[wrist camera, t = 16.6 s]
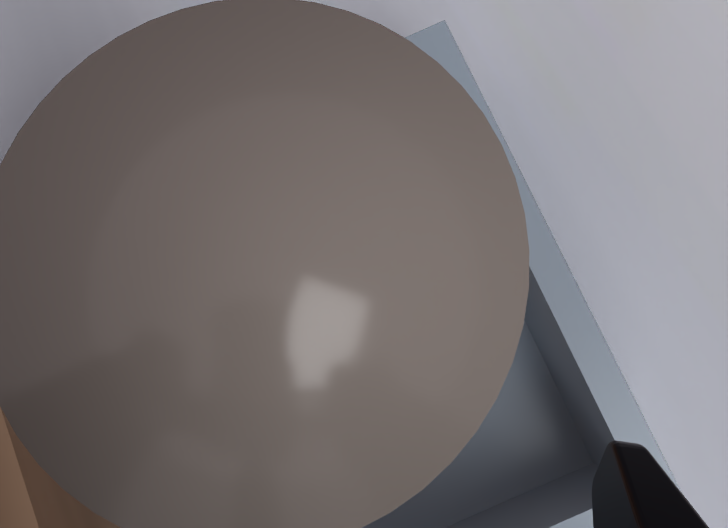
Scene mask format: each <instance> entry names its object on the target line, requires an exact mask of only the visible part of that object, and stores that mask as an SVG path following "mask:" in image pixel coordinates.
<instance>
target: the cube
mask: <svg viewBox="0 0 728 528" xmlns="http://www.w3.org/2000/svg"><path fill="white" fill-rule="evenodd" d="M0 528H121V527H119V526H117V525H115V524H114V523H112V522H110V521H108V520H106V519H104V518H103V517H101V516H99V515H97V514H95V513H94V512H92V511H91V510H90V509H88V508H87V507H86V506H84V505H83V504H82V503H80V502H79V501H78V500H76V499H75V498H74V497H72V496H71V495H70V494H68V493H67V492H66V491H64V490H63V489H62V488H61V487H60V486H59V485H58V484H57V483H56V482H55V481H54V480H53V479H52V478H51V477H50V476H49V475H48V474H47V473H46V472H45V471H44V470H43V469H42V468H41V467H40V466H39V465H38V463H37V462H36V461H35V459H34V458H33V457H32V455H31V454H30V453H29V451H28V450H27V449H26V447H25V446H24V445H23V444H22V442H21V441H20V440H19V438H18V437H17V436H16V434H15V432H14V430H13V428H12V427H11V425H10V423H9V421H8V420H7V418H6V416H5V414H4V412H3V411H2V409H1V407H0Z"/></svg>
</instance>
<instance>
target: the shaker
mask: <svg viewBox="0 0 728 528" xmlns="http://www.w3.org/2000/svg"><path fill="white" fill-rule="evenodd" d="M528 291H529V243H528V234H527V226H526V218H525V212H524V208H523V204H522V201H521V197H520V193H519V189H518V185H517V182H516V178H515V175H514V173H513V171H512V168H511V166H510V163H509V161H508V159H507V156H506V154H505V151H504V149H503V146H502V144H501V143H500V141H499V139H498V137H497V136H496V134H495V132H494V130H493V129H492V127H491V125H490V124H489V122H488V120H487V118H486V117H485V115H484V113H483V112H482V111H481V110H480V108H479V107H478V106H477V104H476V103H475V102H474V101H473V99H472V98H471V97H470V95H469V94H468V93H467V92H466V90H465V89H464V88H463V86H462V85H461V84H460V83H459V82H458V81H457V80H455V79H454V78H453V77H452V76H451V75H450V74H449V73H448V72H447V71H446V70H445V69H444V68H443V67H442V66H441V65H440V64H439V63H438V62H437V61H436V60H434V59H433V58H432V57H430V56H429V55H428V54H426V53H425V52H424V51H422V50H421V49H420V48H418V47H417V46H416V45H415V44H413V43H412V42H411V41H409V40H407V39H405V38H404V37H402V36H400V35H398V34H397V33H395V32H393V31H391V30H390V29H388V28H386V27H384V26H382V25H381V24H378V23H376V22H374V21H371V20H369V19H366V18H364V17H361V16H359V15H356V14H354V13H351V12H349V11H345V10H342V9H338V8H334V7H330V6H327V5H323V4H319V3H315V2H307V1H300V0H223V1H214V2H210V3H206V4H201V5H197V6H193V7H189V8H184V9H180V10H178V11H175V12H172V13H170V14H167V15H164V16H161V17H159V18H156V19H153V20H150V21H148V22H146V23H144V24H142V25H140V26H138V27H136V28H134V29H132V30H130V31H128V32H126V33H124V34H122V35H120V36H118V37H117V38H115V39H114V40H112V41H111V42H109V43H108V44H106V45H105V46H103V47H102V48H100V49H99V50H97V51H96V52H94V53H93V54H91V55H90V56H89V57H87V58H86V59H85V60H84V61H83V62H82V63H80V64H79V65H78V66H77V67H76V68H74V69H73V70H72V71H71V72H70V73H69V74H67V75H66V76H65V77H64V78H63V79H62V80H61V81H60V82H59V83H58V84H57V85H56V86H55V87H54V88H53V90H52V91H51V92H50V93H49V94H48V95H47V96H46V97H45V98H44V99H43V100H42V101H41V102H40V104H39V105H38V106H37V108H36V109H35V110H34V112H33V113H32V114H31V116H30V117H29V119H28V120H27V121H26V123H25V124H24V125H23V127H22V128H21V130H20V131H19V132H18V134H17V136H16V138H15V140H14V141H13V143H12V145H11V147H10V148H9V150H8V152H7V154H6V156H5V157H4V159H3V161H2V163H1V165H0V407H1V409H2V411H3V412H4V414H5V416H6V418H7V420H8V421H9V423H10V425H11V427H12V428H13V430H14V432H15V434H16V436H17V437H18V438H19V440H20V441H21V442H22V444H23V445H24V446H25V447H26V449H27V450H28V451H29V453H30V454H31V455H32V457H33V458H34V459H35V461H36V462H37V463H38V465H39V466H40V467H41V468H42V469H43V470H44V471H45V472H46V473H47V474H48V475H49V476H50V477H51V478H52V479H53V480H54V481H55V482H56V483H57V484H58V485H59V486H60V487H61V488H62V489H63V490H64V491H66V492H67V493H68V494H70V495H71V496H72V497H74V498H75V499H76V500H78V501H79V502H80V503H82V504H83V505H84V506H86V507H87V508H88V509H90V510H91V511H92V512H94V513H95V514H97V515H99V516H101V517H103V518H104V519H106V520H108V521H110V522H112V523H114V524H115V525H117V526H119V527H121V528H362V527H364V526H366V525H368V524H370V523H372V522H374V521H376V520H378V519H379V518H381V517H383V516H385V515H387V514H389V513H391V512H392V511H393V510H395V509H396V508H398V507H399V506H401V505H402V504H403V503H405V502H406V501H408V500H409V499H410V498H412V497H413V496H415V495H416V494H417V493H419V492H420V491H422V490H423V489H424V488H425V487H426V486H427V485H428V484H429V483H430V482H431V481H432V480H434V479H435V478H436V477H437V476H438V475H439V474H440V473H441V472H442V471H443V470H444V469H445V468H446V467H447V466H448V465H450V464H451V463H452V461H453V460H454V459H455V458H456V457H457V455H458V454H459V453H460V452H461V450H462V449H463V448H464V447H465V445H466V444H467V443H468V442H469V441H470V439H471V438H472V437H473V436H474V434H475V433H476V432H477V430H478V429H479V427H480V425H481V424H482V422H483V420H484V419H485V417H486V416H487V414H488V412H489V411H490V409H491V407H492V406H493V404H494V402H495V401H496V399H497V397H498V395H499V393H500V390H501V388H502V386H503V384H504V381H505V379H506V377H507V375H508V372H509V370H510V368H511V365H512V363H513V360H514V357H515V353H516V350H517V346H518V343H519V339H520V336H521V332H522V329H523V325H524V318H525V312H526V305H527V298H528Z"/></svg>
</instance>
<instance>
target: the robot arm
mask: <svg viewBox="0 0 728 528" xmlns="http://www.w3.org/2000/svg"><path fill="white" fill-rule="evenodd" d="M592 512H593V528H709V527H708V526H707V525H706V523H705V522H704V521H703V519H702V518H701V517H700V516H699V514H698V513H697V512H696V511H695V509H694V508H693V507H692V505H691V504H690V503H689V502H688V500H687V499H686V498H685V497H684V495H683V494H682V493H681V491H680V490H679V489H678V488H677V486H676V485H675V484H674V483H673V481H672V480H671V479H670V477H669V476H668V475H667V474H666V472H665V471H664V470H663V469H662V467H661V466H660V465H659V463H658V462H657V461H656V460H655V458H654V457H653V456H652V455H651V453H650V452H649V451H648V450H647V449H646V448H645V447H644V446H643V445H641V444H637V443H631V442H624V441H617V440H614V441H611V442H610V443H608V445H607V447H606V449H605V451H604V454H603V456H602V458H601V461H600V463H599V466H598V468H597V471H596V473H595V476H594V478H593V483H592Z"/></svg>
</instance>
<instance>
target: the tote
mask: <svg viewBox="0 0 728 528" xmlns="http://www.w3.org/2000/svg"><path fill="white" fill-rule="evenodd" d="M405 39H407V40H409V41H411V42H412V43H413V44H415V45H416V46H417V47H418V48H420V49H421V50H422V51H424V52H425V53H426V54H428V55H429V56H430V57H432V58H433V59H434V60H436V61H437V62H438V63H439V64H440V65H441V66H442V67H443V68H444V69H445V70H446V71H447V72H448V73H449V74H450V75H451V76H452V77H453V78H454V79H455V80H457V81H458V82H459V83H460V84H461V85H462V86H463V88H464V89H465V90H466V92H467V93H468V94H469V95H470V97H471V98H472V99H473V101H474V102H475V103H476V104H477V106H478V107H479V108H480V110H481V111H482V112H483V113H484V115H485V117H486V118H487V120H488V122H489V124H490V125H491V127H492V129H493V130H494V132H495V134H496V136H497V137H498V139H499V141H500V143H501V144H502V146H503V149H504V151H505V154H506V156H507V159H508V161H509V163H510V166H511V168H512V171H513V173H514V175H515V178H516V182H517V185H518V189H519V193H520V197H521V201H522V204H523V208H524V212H525V218H526V226H527V234H528V243H529V291H528V298H527V305H526V312H525V318H524V325H523V329H522V332H521V336H520V339H519V343H518V346H517V350H516V353H515V357H514V360H513V363H512V365H511V368H510V370H509V372H508V375H507V377H506V379H505V381H504V384H503V386H502V388H501V390H500V393H499V395H498V397H497V399H496V401H495V402H494V404H493V406H492V407H491V409H490V411H489V412H488V414H487V416H486V417H485V419H484V420H483V422H482V424H481V425H480V427H479V429H478V430H477V432H476V433H475V434H474V436H473V437H472V438H471V439H470V441H469V442H468V443H467V444H466V445H465V447H464V448H463V449H462V450H461V452H460V453H459V454H458V455H457V457H456V458H455V459H454V460H453V461H452V463H451V464H450V465H448V466H447V467H446V468H445V469H444V470H443V471H442V472H441V473H440V474H439V475H438V476H437V477H436V478H435V479H434V480H432V481H431V482H430V483H429V484H428V485H427V486H426V487H425V488H424V489H423V490H422V491H420V492H419V493H417V494H416V495H415V496H413V497H412V498H410V499H409V500H408V501H406V502H405V503H403V504H402V505H401V506H399V507H398V508H396V509H395V510H393V511H392V512H391V513H389V514H387V515H385V516H383V517H381V518H379V519H378V520H376V521H374V522H372V523H370V524H368V525H366V526H364V527H362V528H593V512H592V483H593V478H594V476H595V473H596V471H597V468H598V466H599V463H600V461H601V458H602V456H603V454H604V451H605V449H606V447H607V445H608V443H610V442H611V441H614V440H617V441H624V442H631V443H637V444H641V445H643V446H644V447H645V448H646V449H647V450H648V451H649V452H650V453H651V455H652V456H653V457H654V458H655V460H656V461H657V462H658V463H659V465H660V466H661V467H662V469H663V470H664V471H665V472H666V474H667V475H668V476H669V477H670V479H671V480H672V481H673V483H674V484H675V485H676V486H677V488H678V489H679V490H680V488H679V486H678V484H677V482H676V480H675V478H674V476H673V474H672V472H671V470H670V468H669V466H668V464H667V462H666V460H665V458H664V456H663V454H662V452H661V450H660V448H659V446H658V444H657V442H656V440H655V438H654V436H653V434H652V432H651V430H650V428H649V426H648V424H647V422H646V420H645V418H644V416H643V414H642V412H641V410H640V408H639V406H638V404H637V402H636V400H635V398H634V396H633V394H632V392H631V390H630V388H629V386H628V384H627V382H626V380H625V378H624V376H623V375H622V373H621V371H620V369H619V367H618V365H617V363H616V361H615V359H614V357H613V355H612V353H611V351H610V349H609V347H608V345H607V343H606V341H605V339H604V337H603V335H602V333H601V331H600V329H599V327H598V325H597V323H596V321H595V319H594V317H593V315H592V313H591V311H590V309H589V307H588V305H587V303H586V301H585V299H584V297H583V295H582V293H581V291H580V289H579V287H578V285H577V283H576V281H575V279H574V277H573V275H572V273H571V271H570V269H569V267H568V265H567V263H566V261H565V259H564V257H563V255H562V253H561V251H560V249H559V247H558V245H557V243H556V241H555V239H554V237H553V235H552V233H551V231H550V229H549V227H548V225H547V223H546V221H545V219H544V217H543V215H542V213H541V211H540V209H539V207H538V205H537V203H536V201H535V199H534V197H533V195H532V193H531V191H530V189H529V187H528V185H527V183H526V181H525V179H524V177H523V175H522V173H521V171H520V169H519V167H518V165H517V163H516V161H515V159H514V157H513V155H512V153H511V151H510V149H509V147H508V145H507V143H506V141H505V139H504V137H503V135H502V133H501V131H500V129H499V127H498V125H497V123H496V121H495V119H494V117H493V115H492V113H491V111H490V109H489V108H488V106H487V104H486V102H485V100H484V98H483V96H482V94H481V92H480V90H479V88H478V86H477V84H476V82H475V80H474V78H473V76H472V74H471V72H470V70H469V68H468V66H467V64H466V62H465V60H464V58H463V56H462V54H461V52H460V50H459V48H458V46H457V44H456V42H455V40H454V38H453V36H452V34H451V32H450V30H449V28H448V26H447V24H446V22H445V20H444V21H441V22H439V23H437V24H435V25H433V26H430V27H428V28H426V29H424V30H421V31H419V32H417V33H415V34H412V35H410V36H408V37H406V38H405ZM680 491H681V490H680ZM681 493H682V492H681Z"/></svg>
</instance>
